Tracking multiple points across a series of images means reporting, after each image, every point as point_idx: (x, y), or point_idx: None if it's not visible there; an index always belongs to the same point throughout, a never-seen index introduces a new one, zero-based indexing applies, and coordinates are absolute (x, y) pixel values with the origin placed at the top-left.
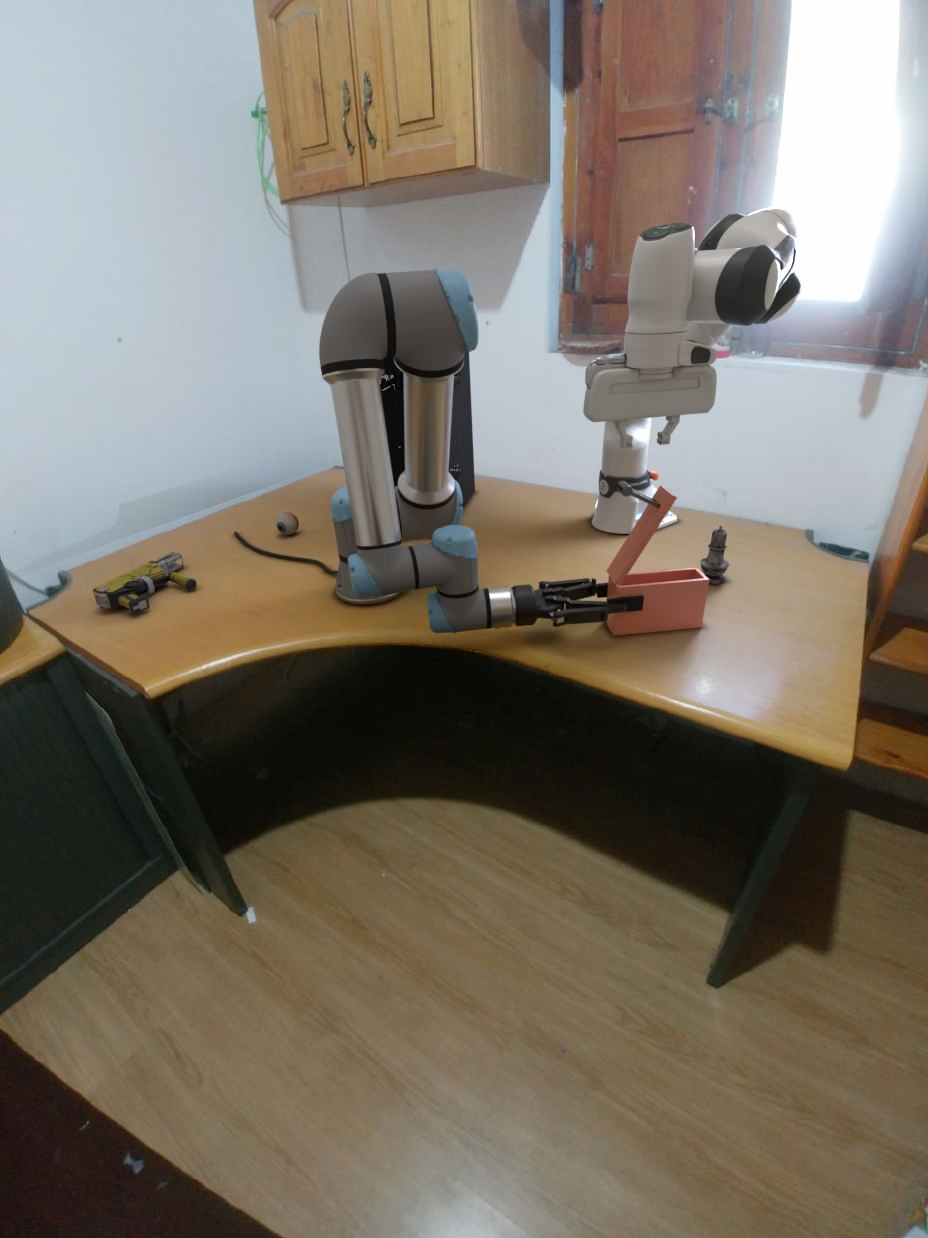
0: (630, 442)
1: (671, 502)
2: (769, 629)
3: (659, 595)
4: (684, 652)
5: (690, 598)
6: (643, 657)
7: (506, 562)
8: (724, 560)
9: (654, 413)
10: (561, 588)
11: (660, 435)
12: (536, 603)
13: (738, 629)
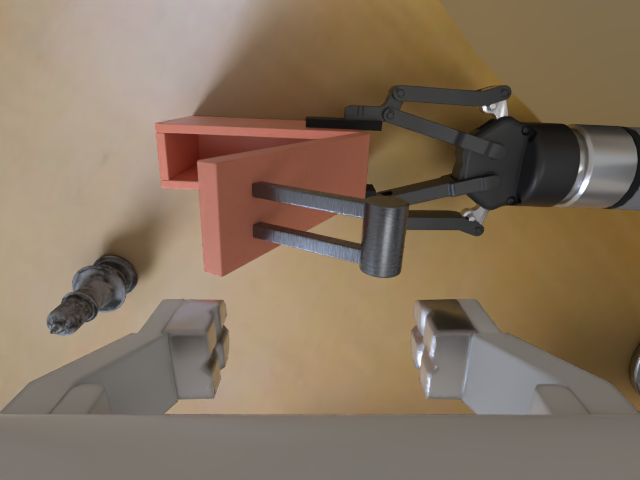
0: (438, 312)
1: (221, 157)
2: (74, 83)
3: (269, 125)
4: (252, 39)
5: (204, 121)
6: (328, 38)
7: (440, 399)
8: (78, 287)
9: (294, 434)
10: (456, 188)
11: (212, 348)
12: (522, 148)
13: (129, 95)
